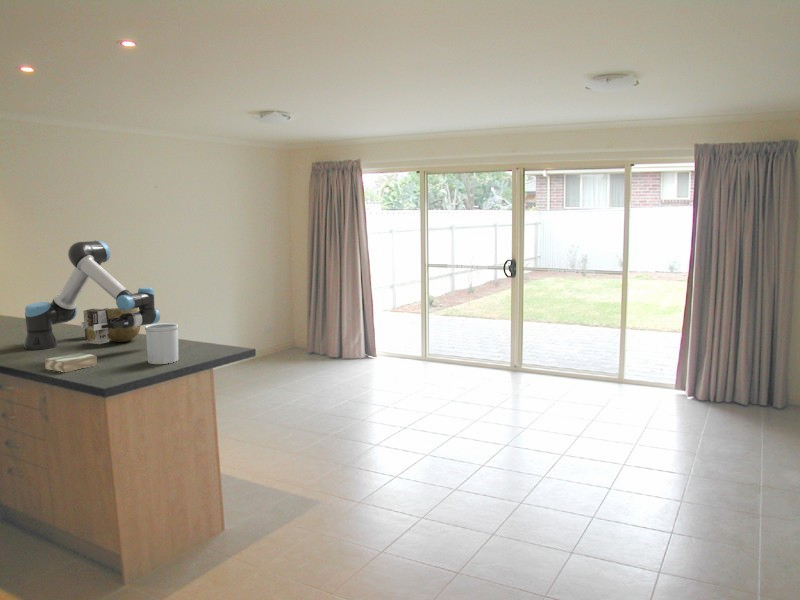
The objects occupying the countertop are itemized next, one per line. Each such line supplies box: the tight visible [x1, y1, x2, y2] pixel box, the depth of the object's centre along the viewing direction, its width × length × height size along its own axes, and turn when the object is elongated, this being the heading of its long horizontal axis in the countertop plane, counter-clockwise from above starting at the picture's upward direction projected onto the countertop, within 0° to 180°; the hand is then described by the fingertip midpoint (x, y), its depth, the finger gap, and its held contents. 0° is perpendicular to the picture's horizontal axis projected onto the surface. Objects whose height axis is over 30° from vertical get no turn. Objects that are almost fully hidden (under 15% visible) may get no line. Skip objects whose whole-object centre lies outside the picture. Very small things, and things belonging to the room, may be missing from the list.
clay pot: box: [103, 307, 141, 343], centre depth 337 cm, size 21×21×20 cm
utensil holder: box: [144, 322, 179, 365], centre depth 293 cm, size 15×15×18 cm
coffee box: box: [82, 308, 110, 345], centre depth 296 cm, size 9×6×16 cm
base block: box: [44, 351, 98, 372], centre depth 281 cm, size 14×16×5 cm
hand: (87, 326), depth 292 cm, fingers closed on coffee box, 10 cm apart
